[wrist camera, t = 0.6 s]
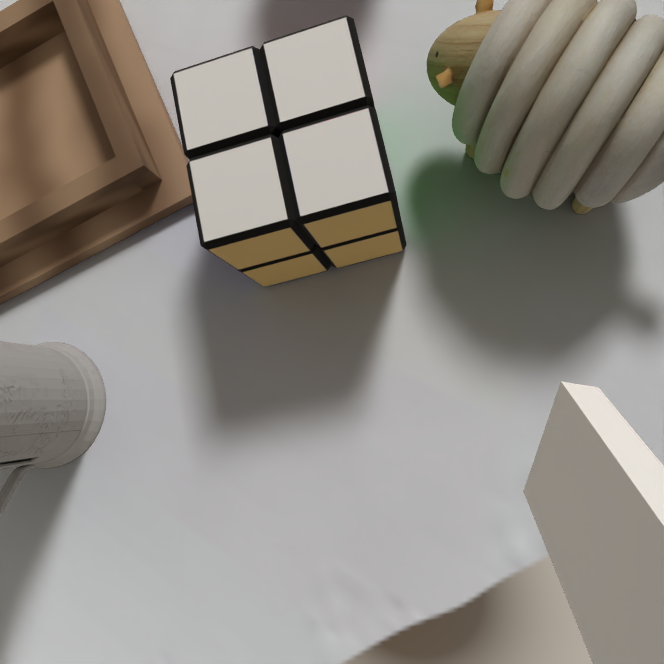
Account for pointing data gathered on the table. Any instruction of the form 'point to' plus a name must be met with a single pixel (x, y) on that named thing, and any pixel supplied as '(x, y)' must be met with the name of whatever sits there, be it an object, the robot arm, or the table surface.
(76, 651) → the table surface
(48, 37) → the docking cradle
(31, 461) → the white pitcher
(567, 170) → the toy sheep
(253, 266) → the puzzle cube
